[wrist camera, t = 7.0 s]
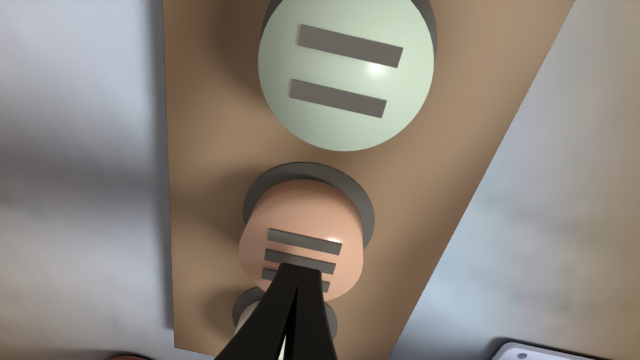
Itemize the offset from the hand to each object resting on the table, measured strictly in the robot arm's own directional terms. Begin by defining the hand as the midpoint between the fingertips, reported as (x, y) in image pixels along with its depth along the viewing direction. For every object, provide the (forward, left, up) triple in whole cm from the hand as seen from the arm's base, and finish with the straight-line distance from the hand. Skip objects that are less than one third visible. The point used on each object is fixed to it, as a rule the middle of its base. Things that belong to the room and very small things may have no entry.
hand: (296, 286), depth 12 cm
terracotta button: (0, 0, -3) cm, 3 cm away
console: (0, 0, -5) cm, 5 cm away
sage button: (0, -7, -3) cm, 8 cm away
